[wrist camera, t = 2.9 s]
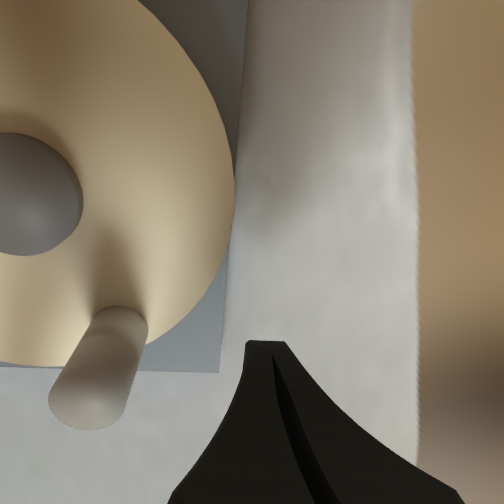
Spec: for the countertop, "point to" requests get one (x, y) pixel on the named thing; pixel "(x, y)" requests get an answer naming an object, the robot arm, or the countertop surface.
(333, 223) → the countertop surface
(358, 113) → the countertop surface
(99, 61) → the cam dial
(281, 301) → the countertop surface
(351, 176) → the countertop surface
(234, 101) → the dial board
